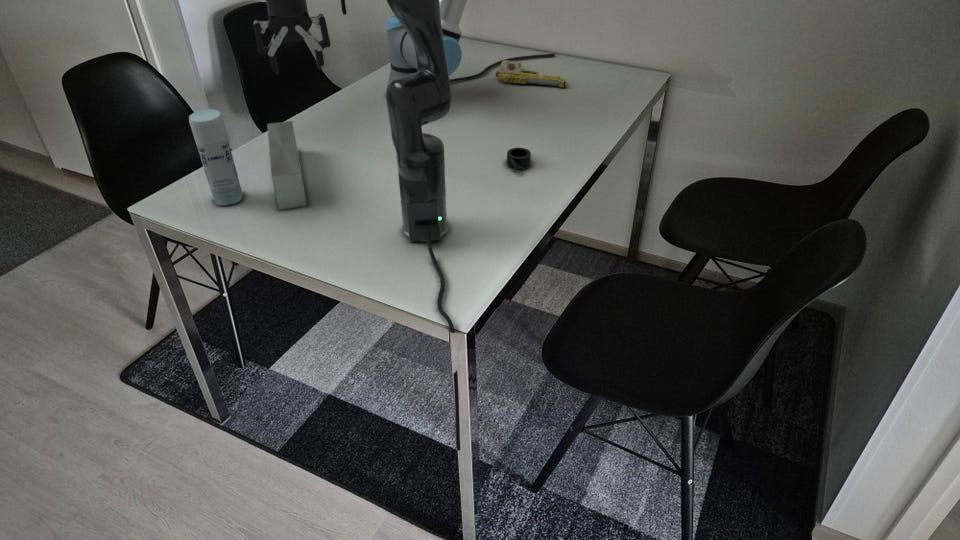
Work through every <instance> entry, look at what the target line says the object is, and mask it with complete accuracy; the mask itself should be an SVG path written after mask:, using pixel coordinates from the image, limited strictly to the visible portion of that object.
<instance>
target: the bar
mask: <svg viewBox="0 0 960 540" xmlns="http://www.w3.org/2000/svg"><path fill="white" fill-rule="evenodd" d="M266 125H267V126H266V127H267V138H268V149H269V160H270V161H269V162H270V171H271V180H272V184H273V188H274V192H275V197H276V201H277V202H276V203H277V206H278V210H279V211H282V210H289V209H296V208H303V207H307V206H308V203H307V197H306V191H305V186H304V179H303V172H302V167H301V160H300V155H299V154H300V153H299V148H298V143H297V139H296V133H295V129H294V124H293V120H287V121H281V122H280V121H279V122H271V123H267V124H266Z"/></svg>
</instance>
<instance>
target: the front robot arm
mask: <svg viewBox="0 0 960 540" xmlns="http://www.w3.org/2000/svg"><path fill="white" fill-rule="evenodd" d="M386 2H387V4H388V7H389V8H390V10H391V11H392V13H393V15H394V16H396V17H397V19H398V20H399V21H400V23H401V24H402V25H403V27H404V28H405V30H406V31H407V33H408V34H409V36H410V37H411V39H412V42H413V44H414V48H415V52H416V57H417V73H413V74H410V75H407V76H404V77H401V78H398V79H395V80H393V81H392V82H391V83H390V84H389V86H388V88H387V87H386V94H385V95H386V97H385V99H386V109H387V115H388V121H389V126H390V127H389V128H390V135H391V140H392V144H393V146H394V150H395V153H396V154H395V155H396V163H397V176H398V185H399V197H400V208H401V218H402V219H401V220H402V233H403V234H404V236H405V237H406V238H407V239H408V240H409V242H410V243H426V244H427V248H428V253H429V255H430V257H431V258H430V260H431V261H432V264H433V266H434V268H435V270H436V272H437V274H438V278H439V281H440V288H439V292H438V294H437V300H436V301H437V302H436V303H437V309H438V312H439V313H440V315H441V316H442V317H443V318H444V319H445V320H446V322H447V324H448V328H449V331H450V333H451V334H455V332H456V329H455V325H454V323H453V321H452V319H451V317H450V316H449V315H448V314H447V313H446V312H445V311H444V309H443V305H442V300H443V295H444V292H445V287H446V286H445V283H446V282H445V277H444V274H443V272H442V269H441V268H440V265H439V264H438V261H437V259H436V256H435V253H434V250H433V246H432V242H435V243H436V242H440V241H441V240H442V239H441V238H443V237H444V236H446V234H447V232H448V229H449V227H448V225H449V224H448V214H447V190H446V188H447V187H446V166H445V165H446V164H445V163H446V162H445V145H444V142H443V140H442V139H441V138H440V137H438V136H436V135H434V134H430V133H425V132H423V126H425V125H428V124H430V123H434V122H436V121H438V120H441V119H443V118H445V117H446V116H447V115H448V114H449V113H450V109H451V107H452V89H451V82H450V75H449V74H448V68H447V62H446V56H445V50H444V43H443V34H442V24H441V13H440V0H386ZM265 5H266V10H267V15H268V20H260V21H259V19H255V20H253V30H254V36H255V43H256V49H257V53H258V54H259V55H266V56H267V57H268V60H269V65H270V70H271V71H272V72H274V73H275V75H280V69H279V64H278V60H277V55H276V52H277V50H278V49H279V48H280V46H281V45H282V42H283V43H285V44H288V43H292V42H296V43H297V42H298V43H299V42H300V43H301V42H302V41H304V40H305V41H306V42H307V43H308V44H309V45H310V46H312V47H313V48H314V55H315V62H316V67H317V70H322V67H324V65H325V60H324V54H323V53H324V52H323V51H324V49H326V48H330V47H331V45H332V44H331V40H330V35H329V30H328V25H327V20H326V18H325V16H324V14H323V13H319V14H318V15H316V16H311V15H309V10H308V4H307V0H265ZM313 24H314V25H315V27H316V28H318V29H320V34H321V38H322V39H321V40H318V39H317V38H315V36H314V34H312V33H311V32H310V29H311V27H312V25H313ZM268 28H269V30H270V31H271V32H272V33H273V35H272V37H271V39H270V42H269V44H268V46H266V45H264V39H263V34H265V33H266V31H267V30H266V29H268ZM452 375H453V390H454V391H453V392H454V414H455V417H454V418H455V419H454V420H455V441H456V442H455V443H456V451H457V452H458V451H461V430H460V396H459V395H460V394H459V393H460V392H459V376H458V375H459V374H458V370H455V371H454V373H453V374H452Z"/></svg>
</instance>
